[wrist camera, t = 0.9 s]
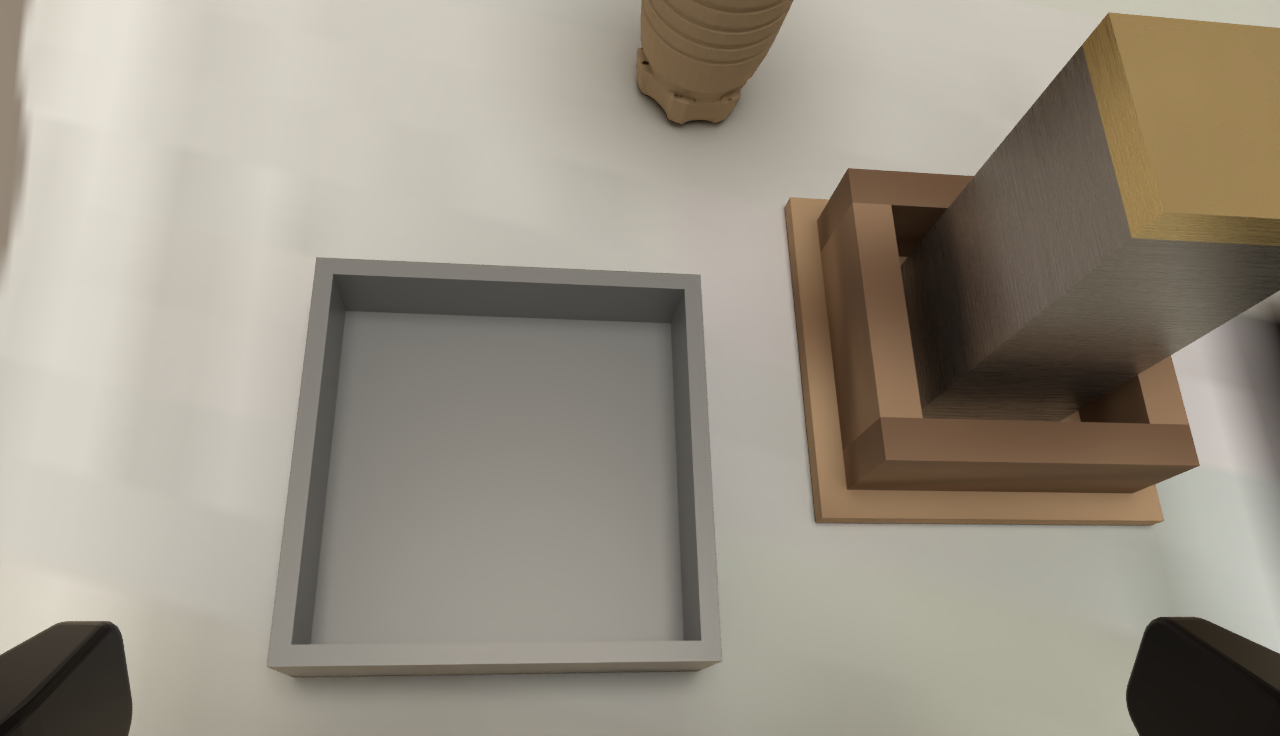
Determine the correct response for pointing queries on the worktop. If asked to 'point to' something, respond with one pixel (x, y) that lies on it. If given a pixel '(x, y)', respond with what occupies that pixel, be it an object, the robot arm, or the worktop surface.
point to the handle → (703, 52)
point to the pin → (1105, 224)
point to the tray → (498, 475)
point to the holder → (947, 448)
